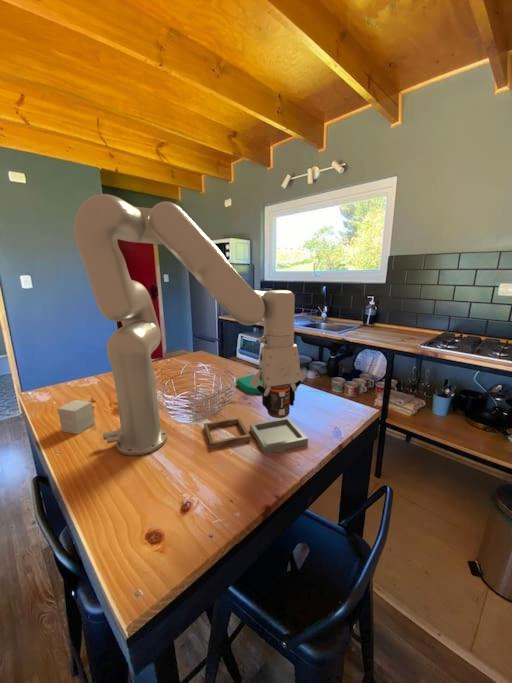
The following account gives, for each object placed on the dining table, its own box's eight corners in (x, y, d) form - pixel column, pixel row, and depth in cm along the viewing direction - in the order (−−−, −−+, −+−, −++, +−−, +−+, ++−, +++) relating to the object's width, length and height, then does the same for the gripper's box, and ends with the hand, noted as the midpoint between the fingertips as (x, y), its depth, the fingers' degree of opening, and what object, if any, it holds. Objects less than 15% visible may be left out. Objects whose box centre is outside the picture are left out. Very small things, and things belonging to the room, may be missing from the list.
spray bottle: (256, 380, 122) (295, 402, 102) (233, 386, 116) (270, 410, 96) (256, 373, 121) (295, 394, 101) (233, 379, 115) (270, 402, 95)
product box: (95, 424, 87) (91, 401, 85) (77, 435, 81) (73, 411, 79) (79, 421, 89) (75, 399, 87) (61, 431, 83) (56, 408, 81)
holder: (210, 448, 74) (210, 443, 74) (204, 428, 84) (204, 423, 84) (250, 440, 78) (250, 435, 77) (239, 421, 87) (239, 417, 87)
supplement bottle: (288, 420, 74) (289, 378, 72) (265, 418, 76) (265, 377, 73) (290, 409, 80) (291, 370, 77) (269, 407, 81) (269, 369, 79)
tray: (264, 454, 72) (265, 447, 72) (250, 429, 83) (250, 424, 83) (307, 444, 76) (308, 438, 75) (288, 422, 87) (288, 417, 86)
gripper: (250, 347, 67) (252, 417, 71) (316, 340, 72) (314, 406, 77) (241, 340, 74) (243, 404, 78) (302, 334, 79) (300, 395, 83)
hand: (278, 405), depth 77 cm, fingers closed on supplement bottle, 6 cm apart
